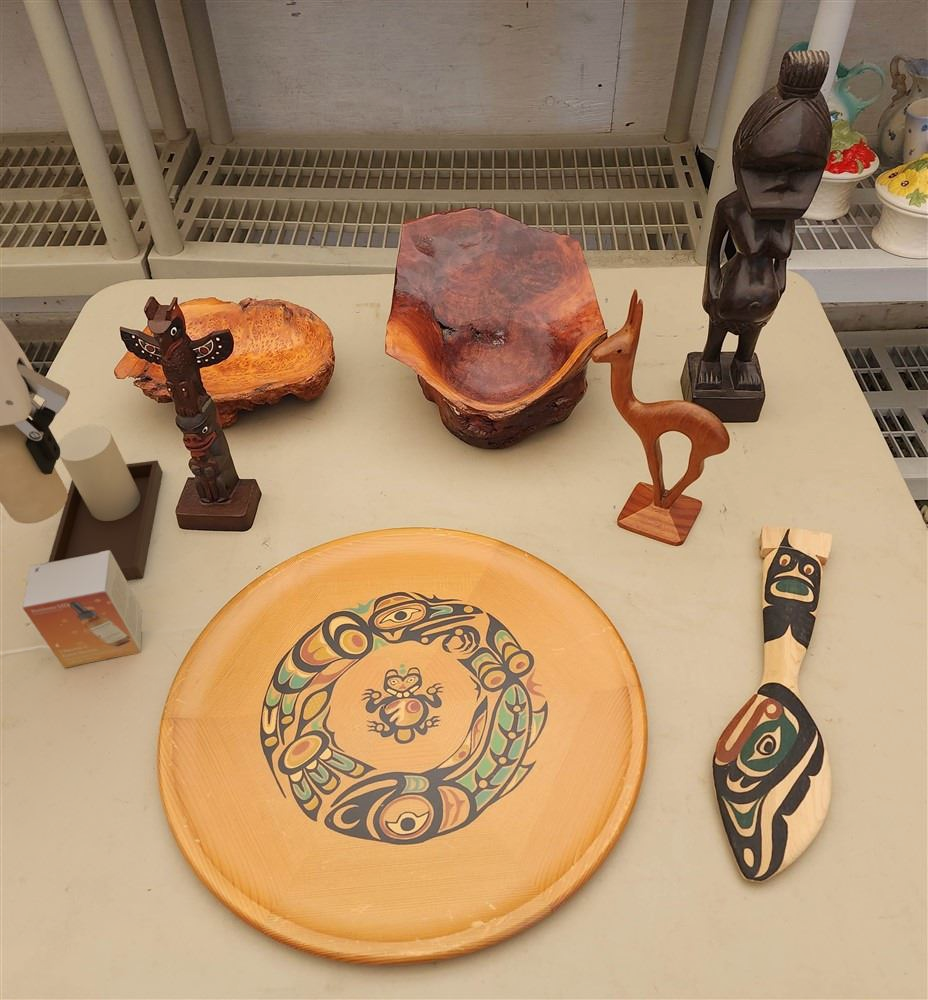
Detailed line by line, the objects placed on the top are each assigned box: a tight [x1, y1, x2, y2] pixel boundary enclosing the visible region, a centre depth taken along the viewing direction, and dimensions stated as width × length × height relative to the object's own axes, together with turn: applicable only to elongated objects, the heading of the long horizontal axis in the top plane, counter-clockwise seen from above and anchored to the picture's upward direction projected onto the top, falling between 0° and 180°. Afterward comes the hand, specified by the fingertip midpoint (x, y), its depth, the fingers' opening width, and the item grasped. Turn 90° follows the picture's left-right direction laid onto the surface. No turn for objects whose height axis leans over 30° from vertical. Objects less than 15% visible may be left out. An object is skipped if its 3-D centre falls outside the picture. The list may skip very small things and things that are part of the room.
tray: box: [47, 459, 164, 582], centre depth 101 cm, size 10×17×3 cm, turn 7°
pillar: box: [58, 424, 140, 521], centre depth 101 cm, size 6×6×10 cm
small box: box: [22, 550, 143, 669], centre depth 87 cm, size 8×6×10 cm
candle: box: [0, 424, 68, 525], centre depth 79 cm, size 6×6×10 cm
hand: (16, 466), depth 79 cm, fingers closed on candle, 5 cm apart
